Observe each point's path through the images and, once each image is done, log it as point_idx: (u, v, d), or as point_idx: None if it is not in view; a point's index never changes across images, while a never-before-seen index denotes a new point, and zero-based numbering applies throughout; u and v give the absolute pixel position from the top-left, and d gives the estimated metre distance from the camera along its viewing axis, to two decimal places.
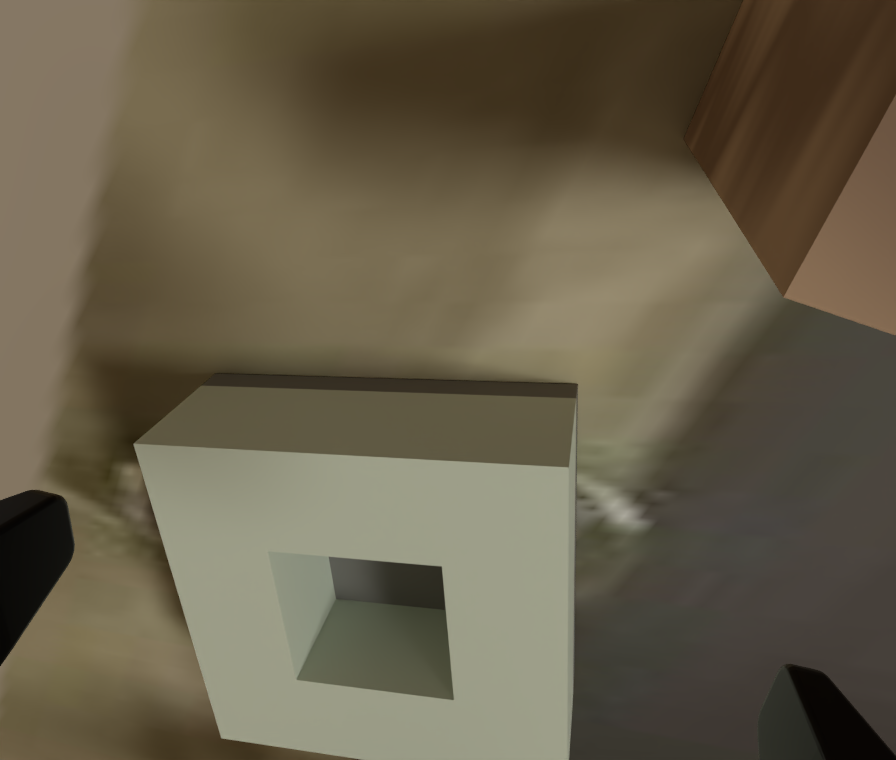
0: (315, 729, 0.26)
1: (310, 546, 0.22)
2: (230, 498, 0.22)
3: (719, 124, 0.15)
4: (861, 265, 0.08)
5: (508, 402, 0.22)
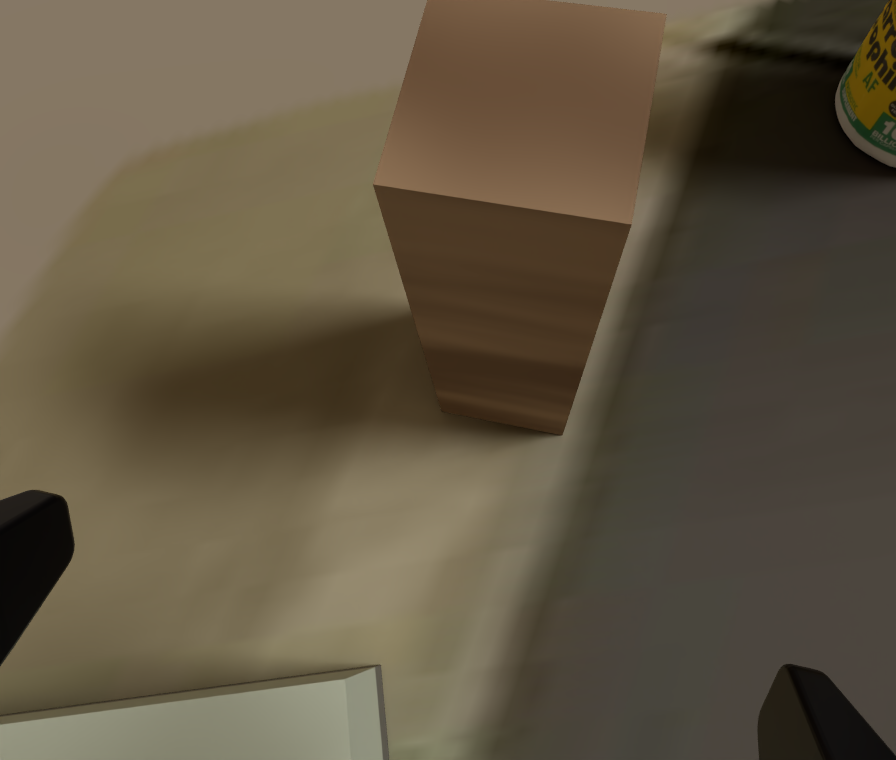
0: None
1: None
2: None
3: None
4: (416, 158, 0.11)
5: (298, 677, 0.20)
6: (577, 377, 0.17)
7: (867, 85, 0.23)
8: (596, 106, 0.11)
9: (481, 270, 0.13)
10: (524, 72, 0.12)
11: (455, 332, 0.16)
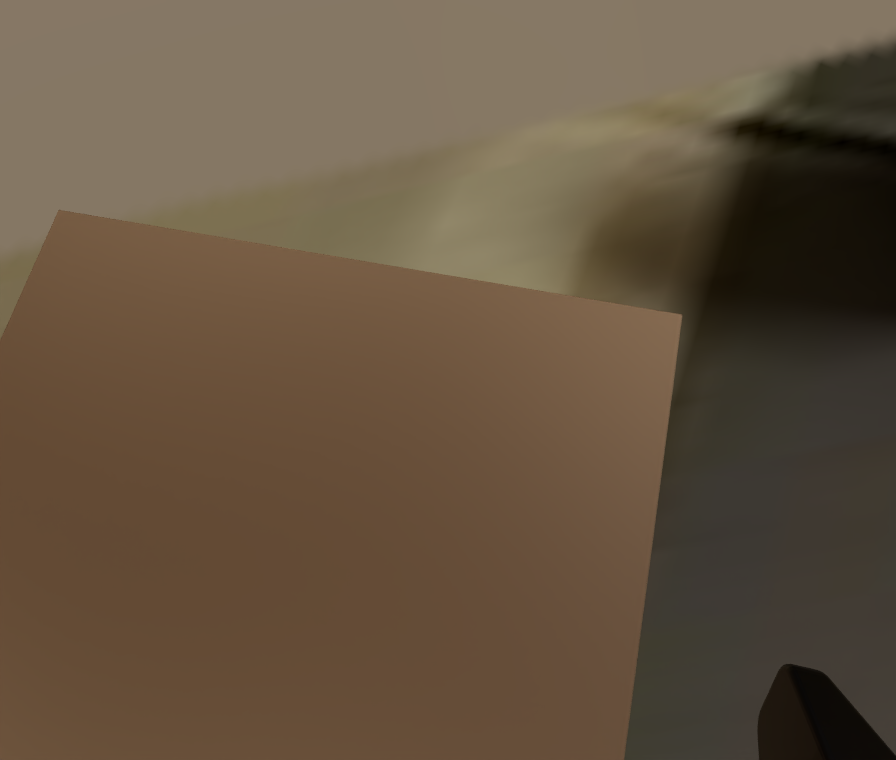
0: None
1: None
2: None
3: None
4: None
5: None
6: None
7: None
8: (467, 640, 0.04)
9: None
10: (262, 499, 0.04)
11: None
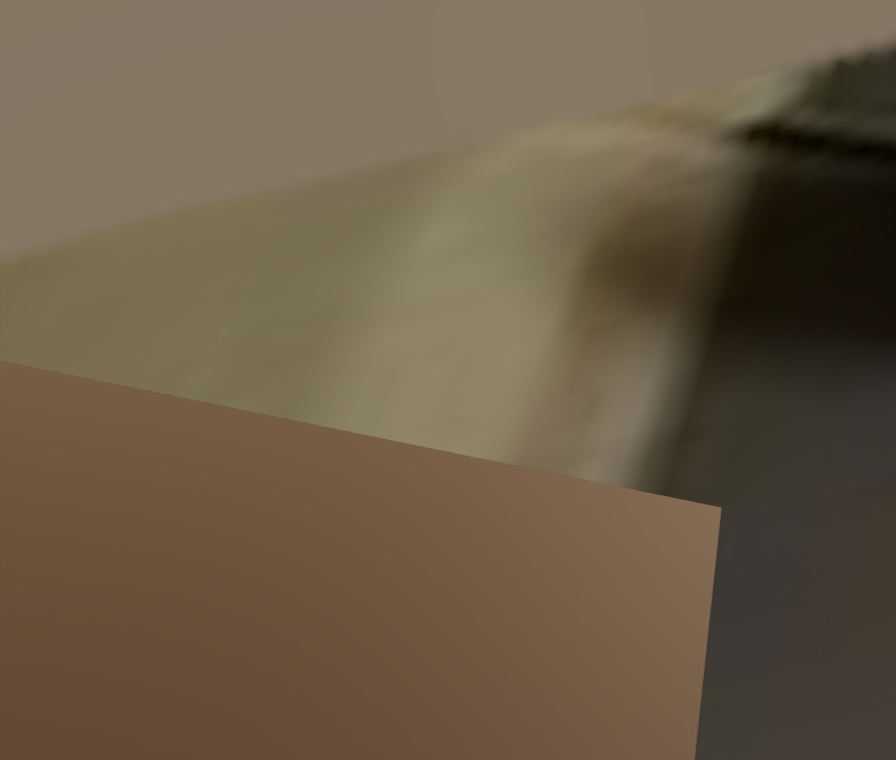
0: None
1: None
2: None
3: None
4: None
5: None
6: None
7: None
8: None
9: None
10: None
11: None
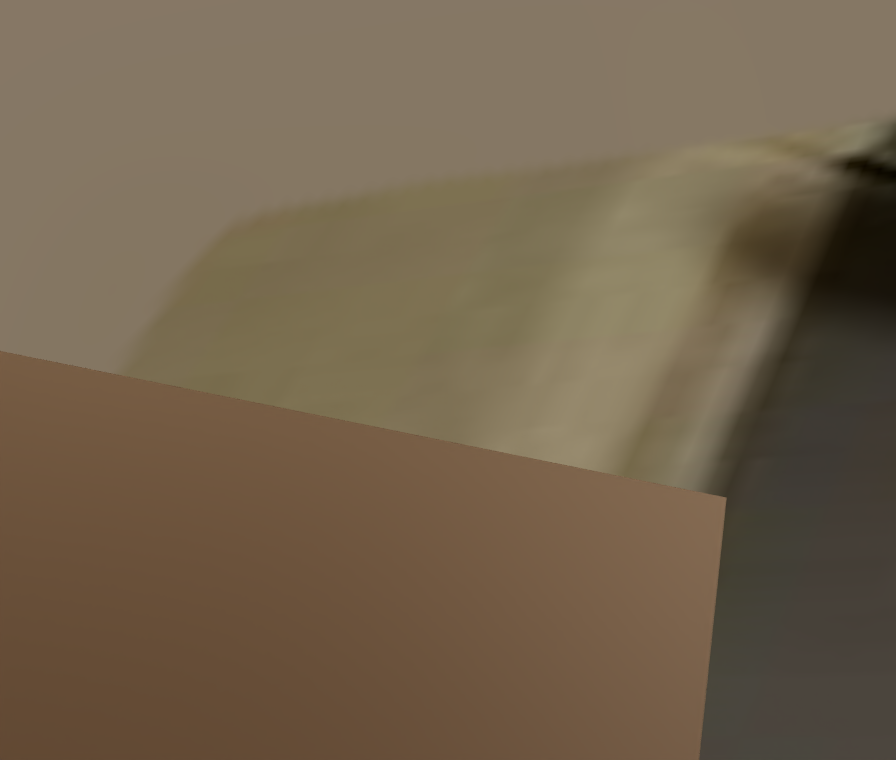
0: None
1: None
2: None
3: None
4: None
5: None
6: None
7: None
8: None
9: None
10: None
11: None
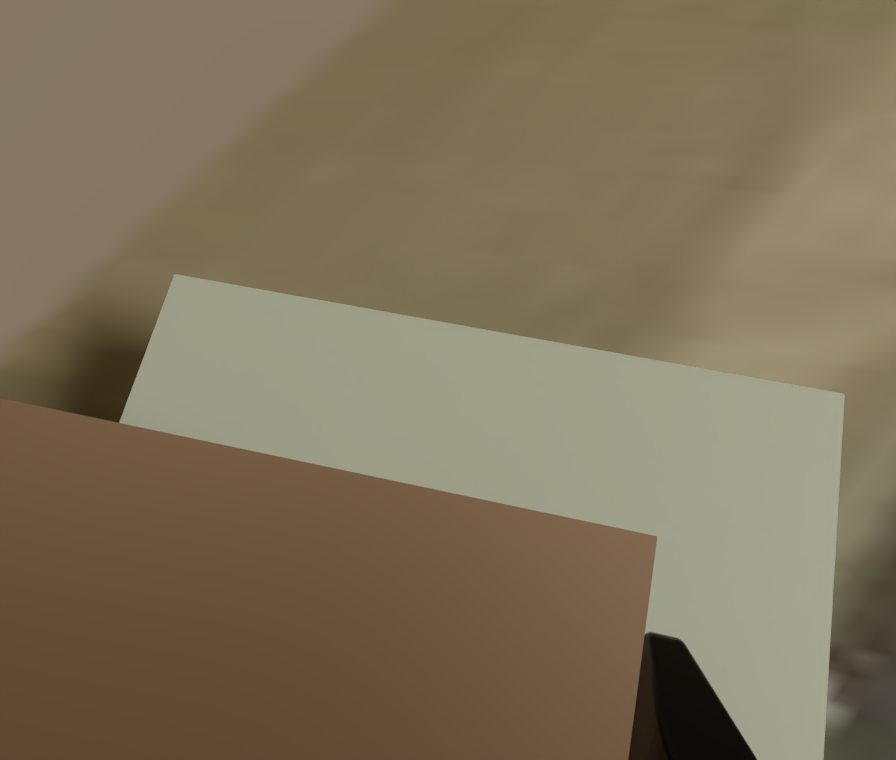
0: None
1: None
2: (280, 381, 0.14)
3: None
4: None
5: None
6: None
7: None
8: None
9: None
10: None
11: None
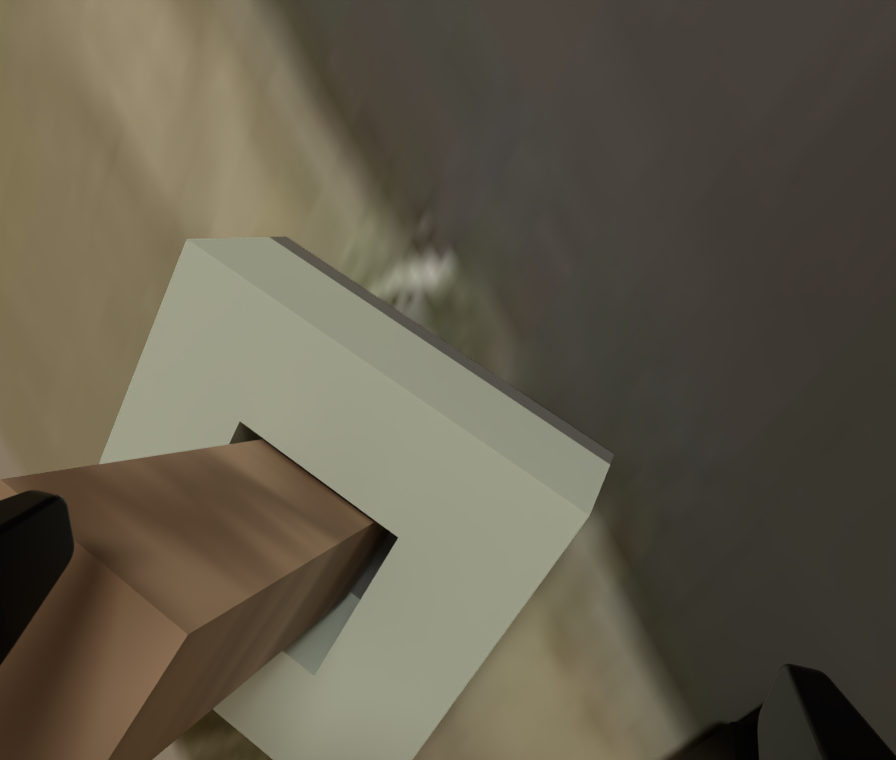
0: (384, 720, 0.20)
1: None
2: None
3: None
4: None
5: None
6: (348, 538, 0.18)
7: None
8: (64, 597, 0.11)
9: (195, 691, 0.13)
10: None
11: (259, 654, 0.16)
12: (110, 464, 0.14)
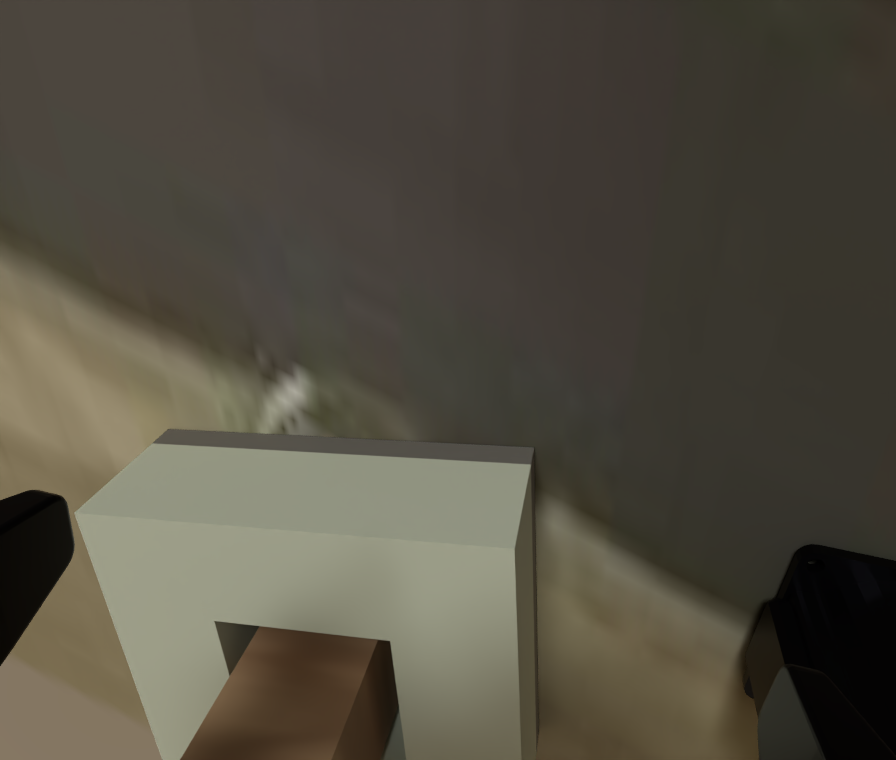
0: None
1: None
2: None
3: None
4: None
5: None
6: (347, 721, 0.20)
7: None
8: None
9: None
10: None
11: None
12: None
